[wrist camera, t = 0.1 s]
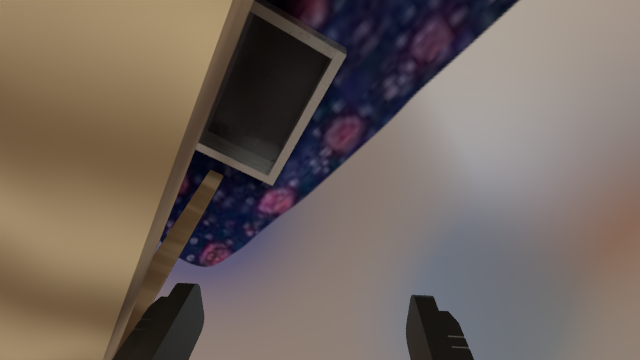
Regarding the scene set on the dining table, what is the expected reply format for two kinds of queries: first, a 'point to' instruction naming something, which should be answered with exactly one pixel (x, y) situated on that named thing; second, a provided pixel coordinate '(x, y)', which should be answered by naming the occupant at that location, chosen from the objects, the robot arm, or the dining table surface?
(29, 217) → the small wooden table
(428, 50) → the dining table surface
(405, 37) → the dining table surface
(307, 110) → the open rectangular box
